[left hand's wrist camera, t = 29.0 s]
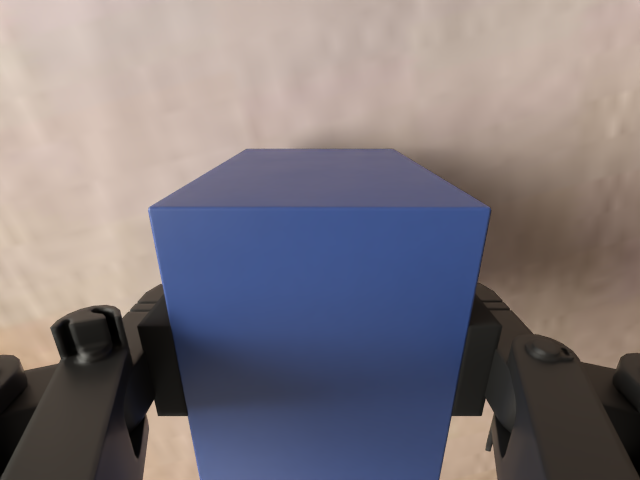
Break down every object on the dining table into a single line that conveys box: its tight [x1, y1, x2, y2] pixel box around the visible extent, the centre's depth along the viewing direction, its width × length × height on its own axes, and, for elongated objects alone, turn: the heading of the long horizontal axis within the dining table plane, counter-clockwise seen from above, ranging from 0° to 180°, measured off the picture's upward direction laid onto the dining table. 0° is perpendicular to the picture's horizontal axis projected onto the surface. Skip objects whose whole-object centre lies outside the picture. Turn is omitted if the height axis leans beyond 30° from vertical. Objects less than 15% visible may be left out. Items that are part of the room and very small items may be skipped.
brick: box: [148, 149, 491, 480], centre depth 12 cm, size 8×7×9 cm
